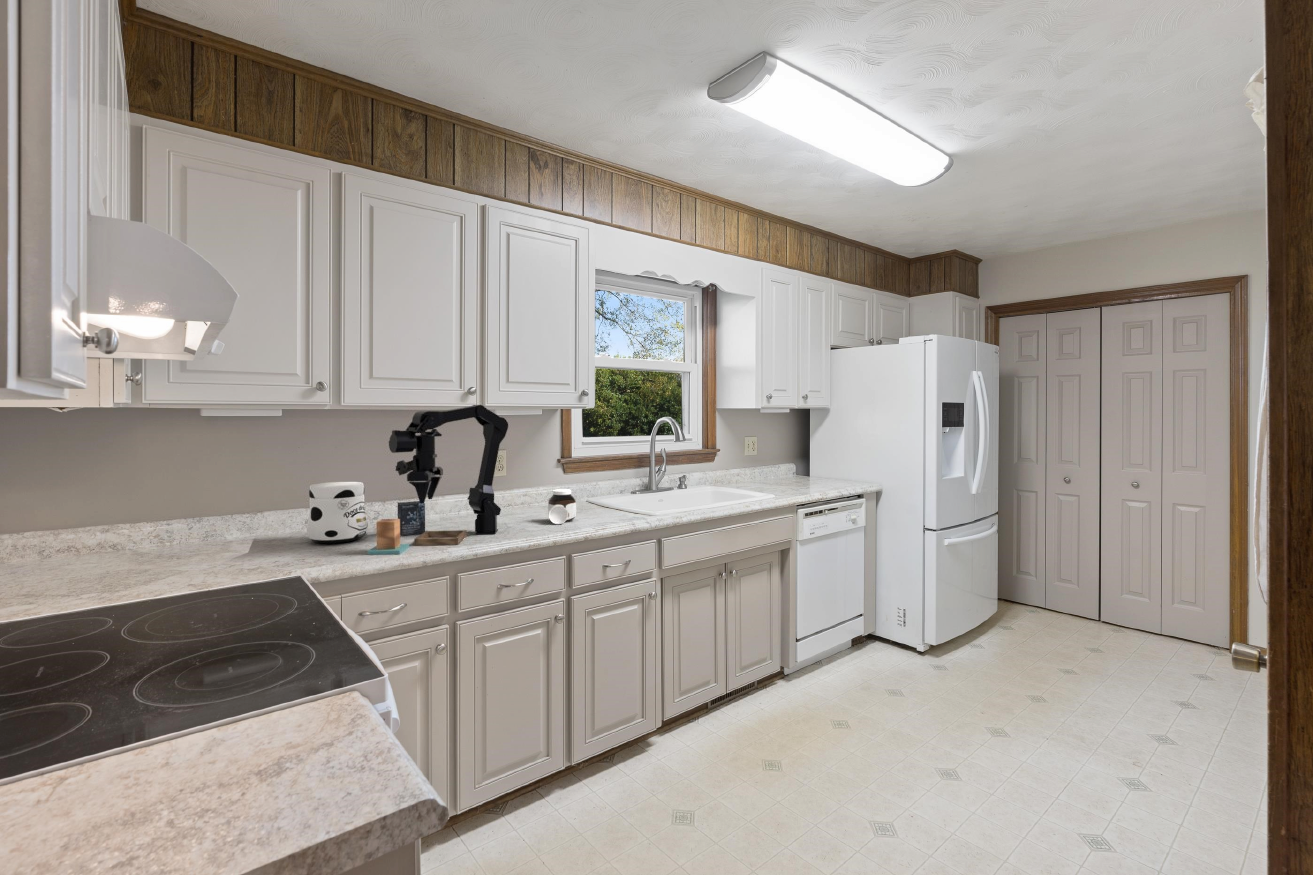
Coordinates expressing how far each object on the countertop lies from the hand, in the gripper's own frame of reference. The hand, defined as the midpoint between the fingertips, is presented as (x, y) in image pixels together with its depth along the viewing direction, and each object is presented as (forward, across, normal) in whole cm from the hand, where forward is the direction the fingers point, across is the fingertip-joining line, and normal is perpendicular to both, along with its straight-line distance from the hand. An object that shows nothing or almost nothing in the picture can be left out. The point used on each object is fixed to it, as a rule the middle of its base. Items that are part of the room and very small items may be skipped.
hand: (426, 501), depth 192 cm
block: (+12, +11, -8) cm, 18 cm away
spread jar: (+13, -32, +40) cm, 53 cm away
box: (+13, -15, -9) cm, 22 cm away
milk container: (+13, -6, -29) cm, 32 cm away
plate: (+13, +11, -8) cm, 19 cm away
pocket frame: (+13, -2, +4) cm, 14 cm away
